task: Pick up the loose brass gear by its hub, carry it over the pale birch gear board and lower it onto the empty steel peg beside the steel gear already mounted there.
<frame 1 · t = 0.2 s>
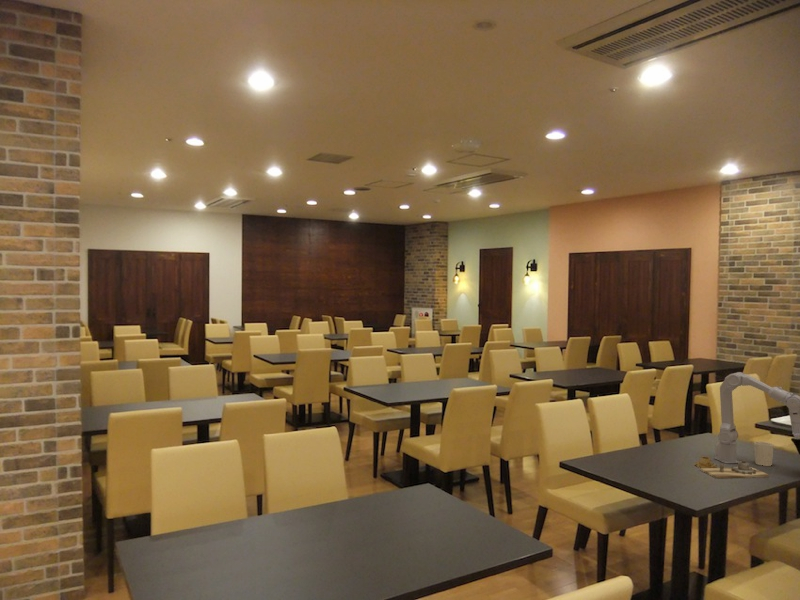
brass gear: (705, 466, 277), on the table
white cup: (763, 464, 280), on the table
gear board: (734, 473, 265), on the table
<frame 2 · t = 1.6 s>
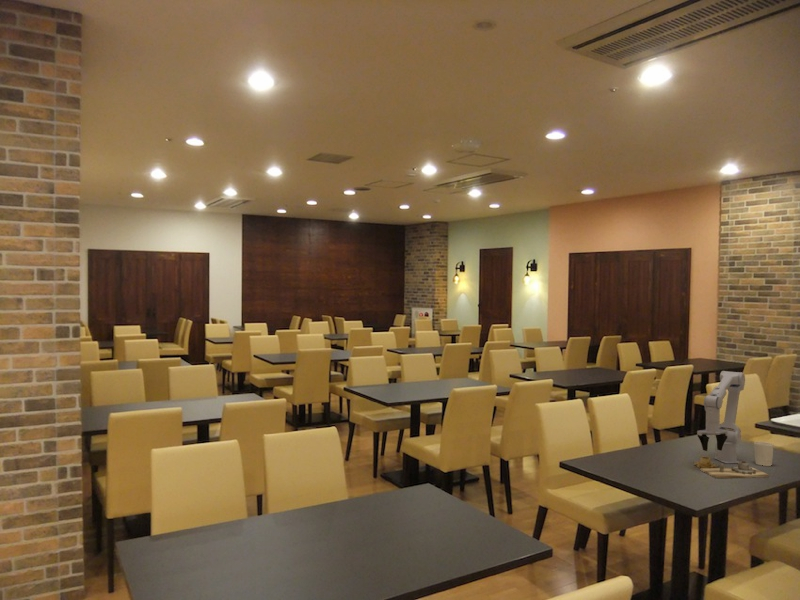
hand: (712, 450, 272), 9 cm above the table, tool pointing down, fingers open, 7 cm apart
nothing on the table moved.
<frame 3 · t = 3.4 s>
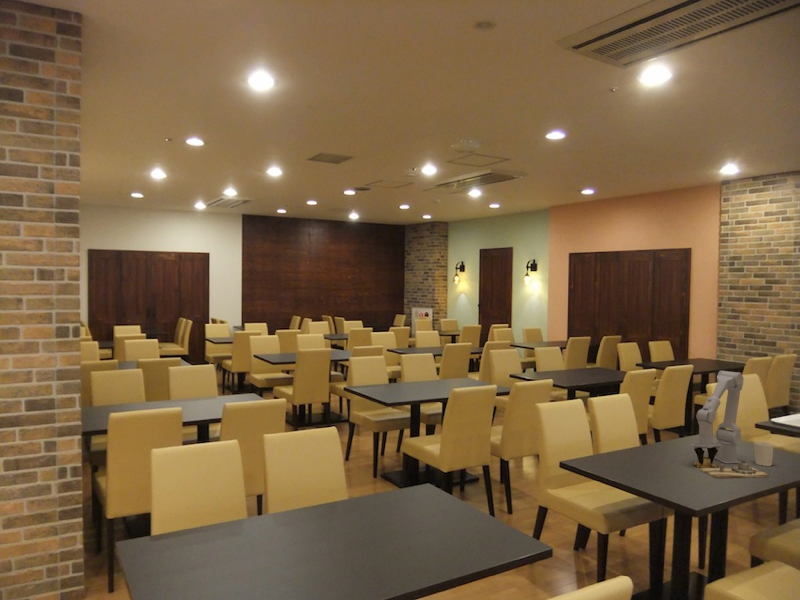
hand: (705, 463, 276), 1 cm above the table, tool pointing down, fingers closed on brass gear, 4 cm apart
brass gear: (705, 466, 277), on the table, touching gripper
everything else where it was.
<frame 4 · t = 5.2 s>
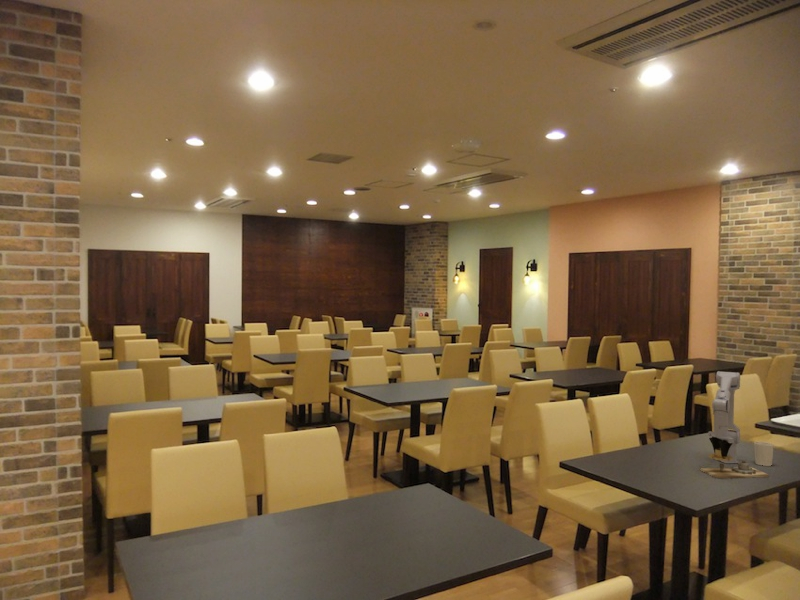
hand: (720, 455, 265), 8 cm above the table, tool pointing down, fingers closed on brass gear, 4 cm apart
brass gear: (720, 458, 265), point 7 cm above the table, touching gripper
everything else where it was.
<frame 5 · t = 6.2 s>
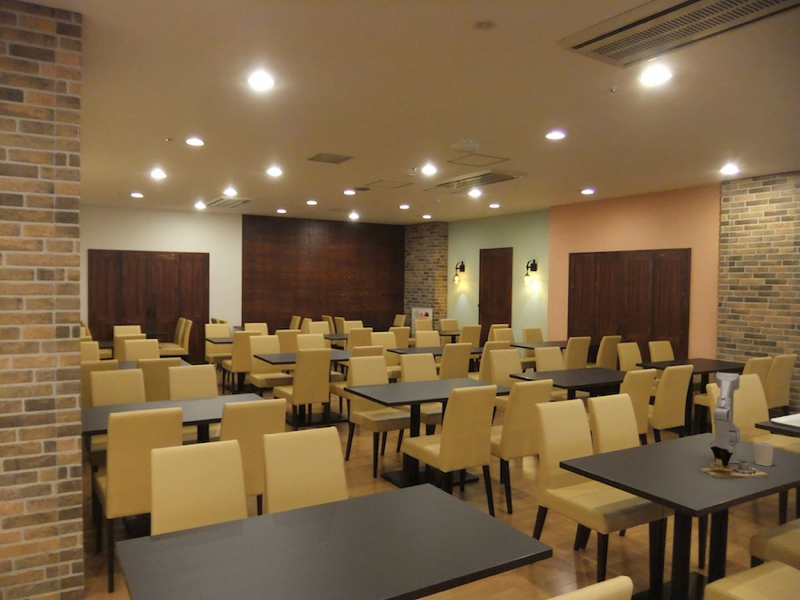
hand: (721, 464, 264), 4 cm above the table, tool pointing down, fingers closed on brass gear, 4 cm apart
brass gear: (721, 467, 264), point 3 cm above the table, touching gripper
everything else where it was.
when the fingers open (4 cm above the table, at t = 7.2 s): brass gear drops 2 cm, resting on gear board.
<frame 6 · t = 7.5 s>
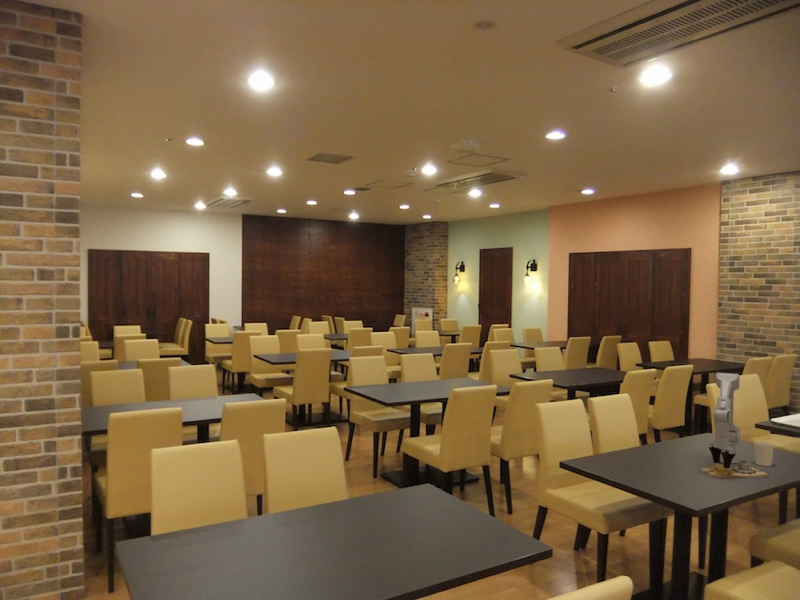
hand: (721, 465, 265), 4 cm above the table, tool pointing down, fingers open, 7 cm apart
brass gear: (721, 471, 264), point 1 cm above the table, touching gear board
everything else where it was.
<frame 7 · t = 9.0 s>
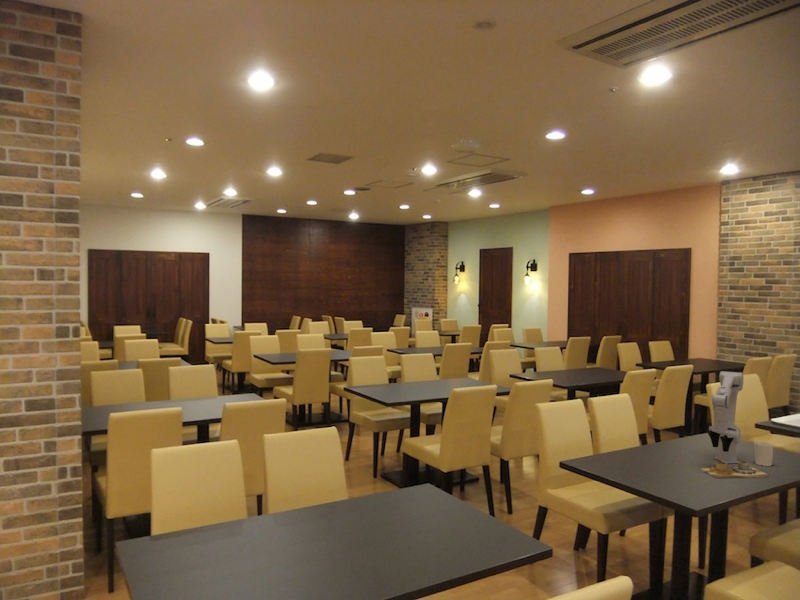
hand: (720, 449, 272), 9 cm above the table, tool pointing down, fingers open, 7 cm apart
nothing on the table moved.
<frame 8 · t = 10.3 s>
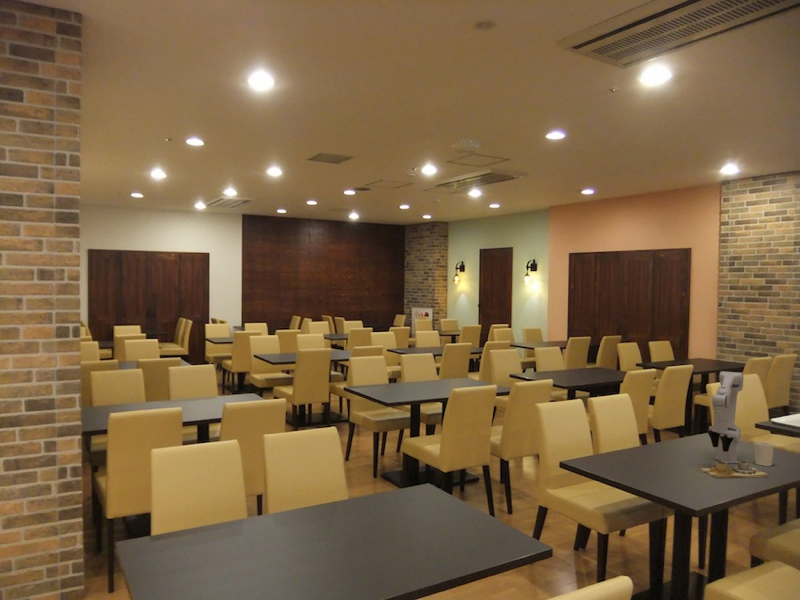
hand: (720, 449, 272), 9 cm above the table, tool pointing down, fingers open, 7 cm apart
nothing on the table moved.
at the end: brass gear 0.0 cm from the target spot on the gear board, point 1.0 cm above the gear board's base; the gripper is holding nothing; brass gear tilted 0° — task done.
